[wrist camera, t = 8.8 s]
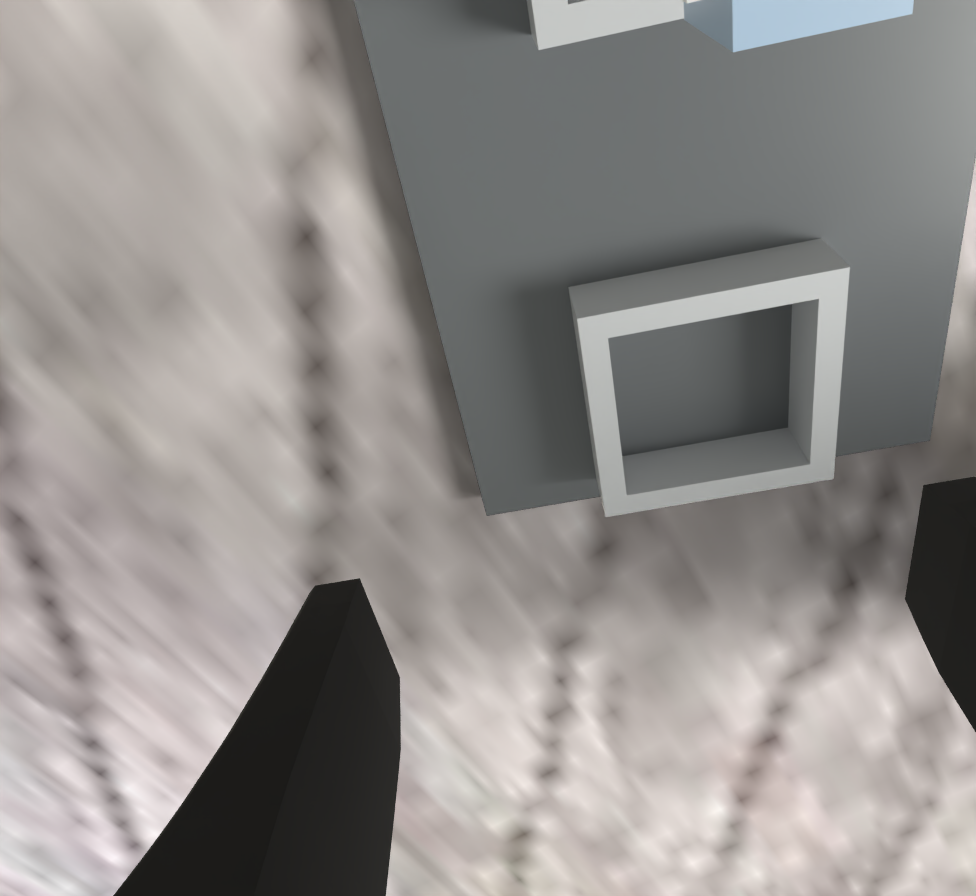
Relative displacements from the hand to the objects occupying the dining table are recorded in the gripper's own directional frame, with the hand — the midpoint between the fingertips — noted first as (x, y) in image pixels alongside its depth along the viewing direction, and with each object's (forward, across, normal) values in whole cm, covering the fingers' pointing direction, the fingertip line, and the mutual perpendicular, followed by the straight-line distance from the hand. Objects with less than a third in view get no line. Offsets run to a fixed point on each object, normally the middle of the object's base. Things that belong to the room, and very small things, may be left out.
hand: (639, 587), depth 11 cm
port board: (+10, -3, -2) cm, 11 cm away
